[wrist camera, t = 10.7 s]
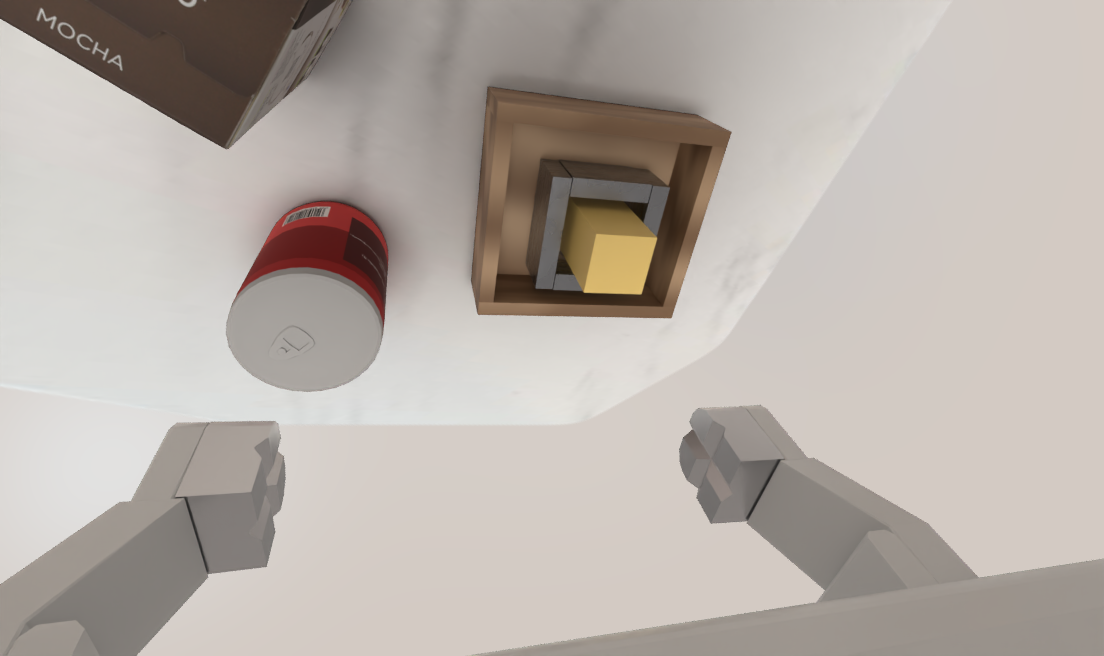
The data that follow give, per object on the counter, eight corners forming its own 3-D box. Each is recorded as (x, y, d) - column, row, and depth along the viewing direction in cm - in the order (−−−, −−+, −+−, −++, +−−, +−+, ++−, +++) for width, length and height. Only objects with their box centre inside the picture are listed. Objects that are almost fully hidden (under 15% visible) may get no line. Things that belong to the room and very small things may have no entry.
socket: (540, 157, 36) (553, 175, 33) (648, 168, 39) (670, 186, 35) (525, 263, 41) (535, 289, 37) (623, 268, 43) (640, 292, 40)
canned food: (248, 263, 37) (197, 357, 28) (307, 172, 34) (271, 243, 25) (350, 315, 40) (334, 413, 32) (410, 237, 38) (410, 318, 29)
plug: (564, 189, 38) (596, 234, 32) (616, 193, 39) (657, 237, 33) (555, 240, 40) (583, 292, 34) (604, 243, 41) (641, 294, 35)
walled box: (487, 86, 34) (498, 102, 30) (696, 114, 38) (731, 132, 34) (471, 280, 41) (477, 314, 37) (647, 287, 45) (671, 318, 41)
